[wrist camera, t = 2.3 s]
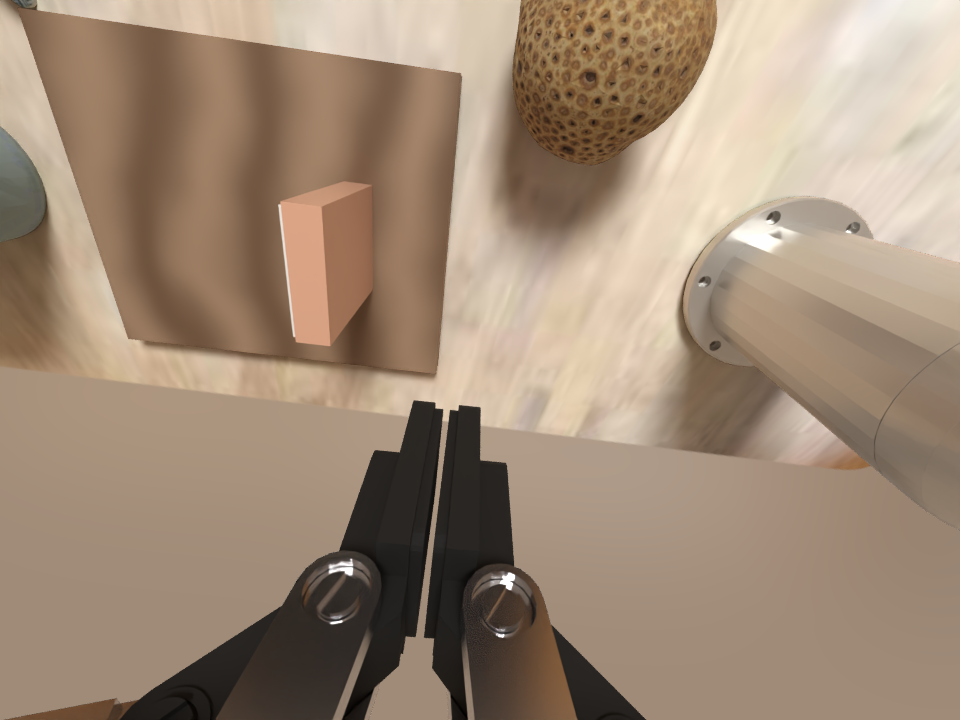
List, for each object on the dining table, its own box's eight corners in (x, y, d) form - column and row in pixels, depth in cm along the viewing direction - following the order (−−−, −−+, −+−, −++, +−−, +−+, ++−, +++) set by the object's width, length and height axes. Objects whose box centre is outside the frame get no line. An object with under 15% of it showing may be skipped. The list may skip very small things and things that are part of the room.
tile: (372, 185, 26) (321, 206, 18) (372, 289, 29) (330, 346, 21) (340, 180, 26) (275, 200, 18) (345, 286, 29) (292, 341, 21)
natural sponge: (619, 175, 27) (683, 194, 18) (488, 137, 26) (489, 138, 17) (686, 0, 22) (814, -87, 14) (532, -53, 21) (563, -183, 13)
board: (461, 76, 24) (460, 73, 23) (437, 364, 34) (435, 373, 32) (44, 14, 23) (17, 7, 22) (142, 330, 33) (128, 338, 31)
